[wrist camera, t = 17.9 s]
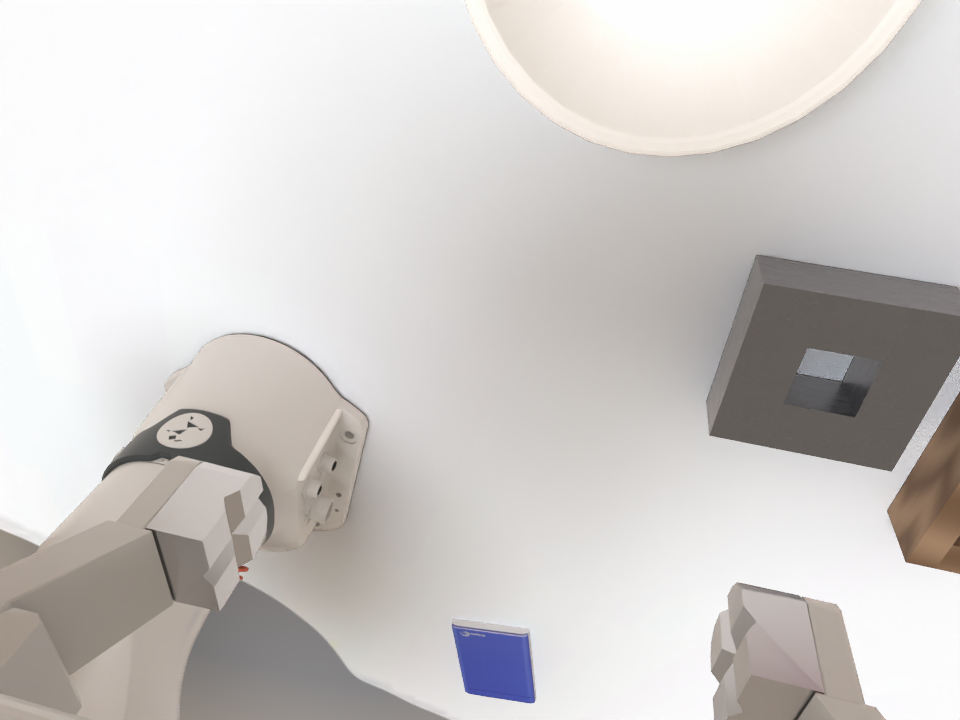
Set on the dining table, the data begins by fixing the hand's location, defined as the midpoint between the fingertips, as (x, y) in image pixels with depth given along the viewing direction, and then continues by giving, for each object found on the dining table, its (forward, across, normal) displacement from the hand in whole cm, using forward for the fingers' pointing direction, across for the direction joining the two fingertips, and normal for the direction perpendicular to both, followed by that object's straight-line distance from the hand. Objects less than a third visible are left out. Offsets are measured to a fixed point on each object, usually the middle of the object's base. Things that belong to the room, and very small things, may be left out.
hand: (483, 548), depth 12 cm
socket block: (+35, +17, -15) cm, 42 cm away
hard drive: (+36, -2, -61) cm, 70 cm away
